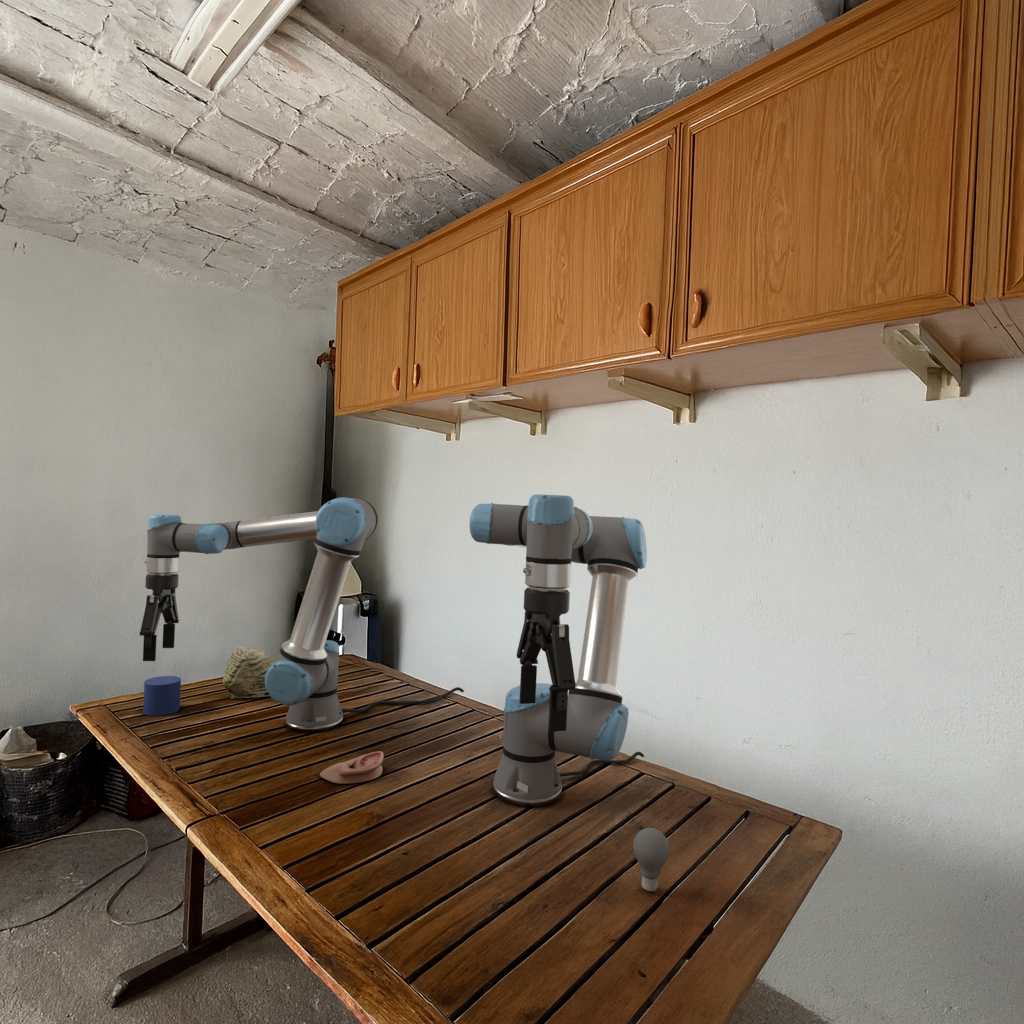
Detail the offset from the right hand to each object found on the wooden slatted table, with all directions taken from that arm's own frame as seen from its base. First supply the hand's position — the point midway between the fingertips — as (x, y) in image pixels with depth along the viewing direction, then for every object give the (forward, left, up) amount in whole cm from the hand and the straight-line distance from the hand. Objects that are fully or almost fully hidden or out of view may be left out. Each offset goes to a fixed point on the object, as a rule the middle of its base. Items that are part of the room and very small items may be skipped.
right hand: (541, 716), depth 105 cm
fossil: (+46, -117, -29) cm, 129 cm away
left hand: (+69, -92, -9) cm, 115 cm away
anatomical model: (+23, -52, -29) cm, 64 cm away
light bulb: (-19, +6, -29) cm, 35 cm away
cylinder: (+70, -108, -29) cm, 132 cm away
